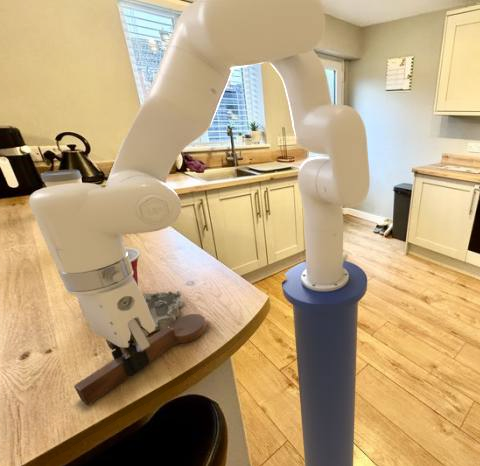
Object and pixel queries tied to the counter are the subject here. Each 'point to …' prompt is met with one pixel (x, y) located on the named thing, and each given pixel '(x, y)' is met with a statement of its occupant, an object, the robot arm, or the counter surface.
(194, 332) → the spoon
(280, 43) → the robot arm
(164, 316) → the crystal geode chunk
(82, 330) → the counter surface
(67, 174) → the reusable coffee cup
